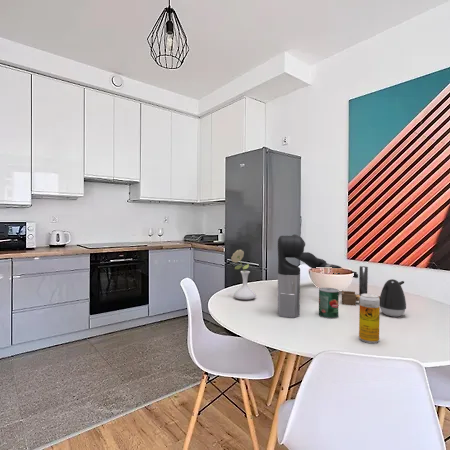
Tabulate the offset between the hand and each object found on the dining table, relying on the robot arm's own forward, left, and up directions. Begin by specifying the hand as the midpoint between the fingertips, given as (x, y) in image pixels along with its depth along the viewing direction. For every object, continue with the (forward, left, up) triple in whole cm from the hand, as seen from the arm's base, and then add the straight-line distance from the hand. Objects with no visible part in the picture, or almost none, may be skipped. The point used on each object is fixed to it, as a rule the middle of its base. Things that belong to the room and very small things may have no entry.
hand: (349, 276), depth 160 cm
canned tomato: (-34, +10, -12) cm, 38 cm away
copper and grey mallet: (-9, -6, -12) cm, 16 cm away
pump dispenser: (-23, -16, -12) cm, 31 cm away
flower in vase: (-19, +51, -12) cm, 56 cm away
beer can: (-58, -3, -12) cm, 60 cm away
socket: (-9, +1, -12) cm, 15 cm away
